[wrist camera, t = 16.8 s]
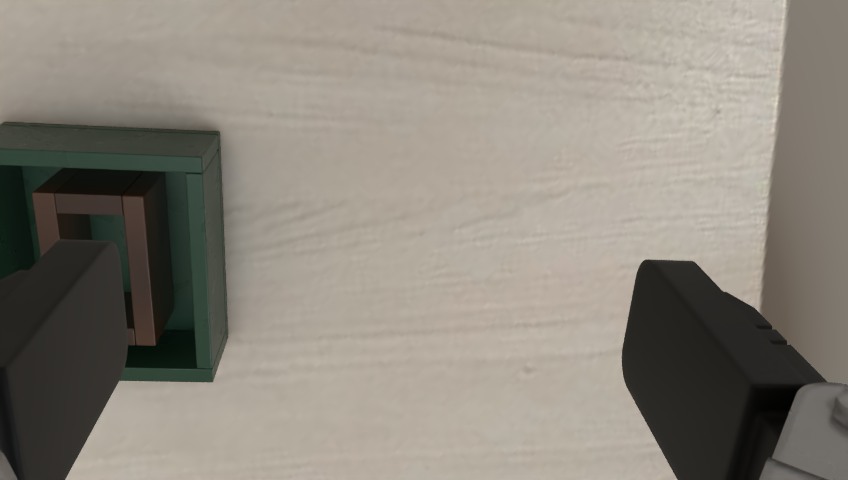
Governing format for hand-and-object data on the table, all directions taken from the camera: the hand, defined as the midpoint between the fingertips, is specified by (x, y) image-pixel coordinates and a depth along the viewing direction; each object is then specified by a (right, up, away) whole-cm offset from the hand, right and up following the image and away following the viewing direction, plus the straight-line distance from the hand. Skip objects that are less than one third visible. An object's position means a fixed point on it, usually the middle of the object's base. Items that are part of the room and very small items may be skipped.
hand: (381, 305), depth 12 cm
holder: (-15, +1, +29) cm, 33 cm away
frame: (-15, +1, +28) cm, 32 cm away
